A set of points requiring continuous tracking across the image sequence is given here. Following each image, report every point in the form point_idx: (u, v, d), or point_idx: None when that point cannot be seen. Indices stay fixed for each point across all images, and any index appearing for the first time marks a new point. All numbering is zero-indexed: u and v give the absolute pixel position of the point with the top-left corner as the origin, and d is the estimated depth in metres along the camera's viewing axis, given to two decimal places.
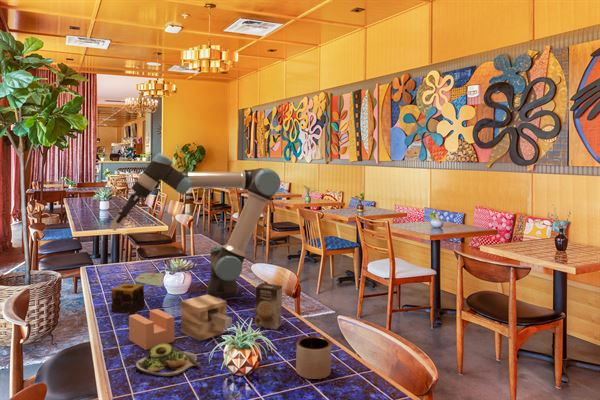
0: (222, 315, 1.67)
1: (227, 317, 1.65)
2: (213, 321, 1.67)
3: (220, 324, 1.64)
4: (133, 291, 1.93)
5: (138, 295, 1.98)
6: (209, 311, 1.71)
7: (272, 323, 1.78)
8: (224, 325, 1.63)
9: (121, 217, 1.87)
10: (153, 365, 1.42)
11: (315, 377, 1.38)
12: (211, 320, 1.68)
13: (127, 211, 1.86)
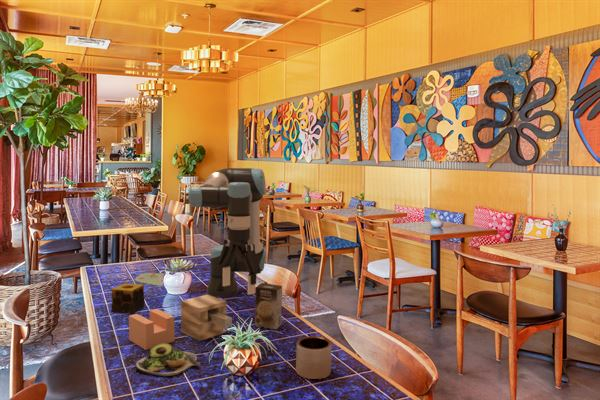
0: (222, 315, 1.67)
1: (227, 317, 1.65)
2: (213, 321, 1.67)
3: (220, 324, 1.64)
4: (133, 291, 1.93)
5: (138, 295, 1.98)
6: (209, 311, 1.71)
7: (272, 323, 1.78)
8: (224, 325, 1.63)
9: (254, 276, 1.52)
10: (153, 365, 1.42)
11: (315, 377, 1.38)
12: (211, 320, 1.68)
13: (258, 266, 1.51)
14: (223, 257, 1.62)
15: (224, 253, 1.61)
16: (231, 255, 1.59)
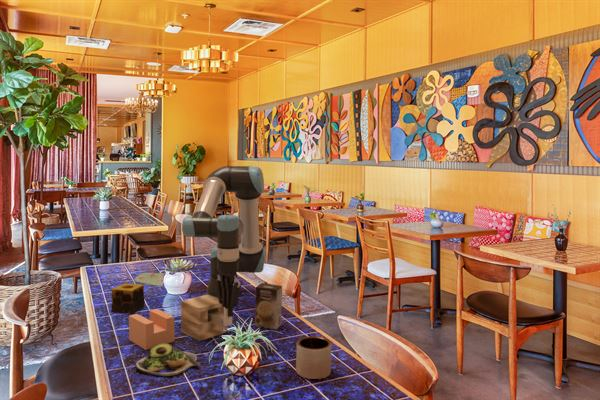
0: (220, 314, 1.67)
1: None
2: (211, 320, 1.68)
3: (218, 323, 1.65)
4: (133, 291, 1.93)
5: (138, 295, 1.98)
6: None
7: (272, 323, 1.78)
8: (222, 324, 1.64)
9: (231, 309, 1.62)
10: (153, 365, 1.42)
11: (315, 377, 1.38)
12: (209, 319, 1.69)
13: (236, 301, 1.61)
14: (221, 294, 1.65)
15: (220, 289, 1.65)
16: (225, 288, 1.63)
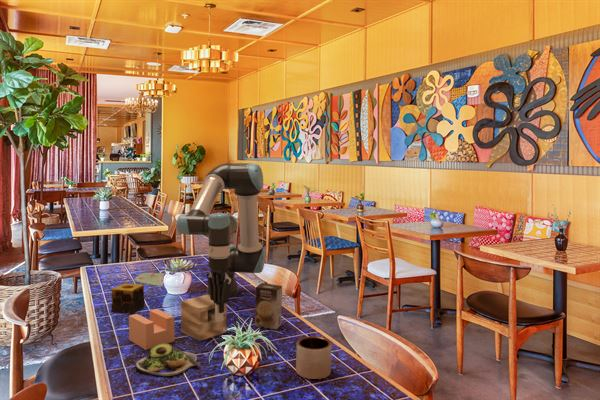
0: (212, 311, 1.71)
1: None
2: None
3: (210, 320, 1.68)
4: (133, 291, 1.93)
5: (138, 295, 1.98)
6: None
7: (272, 323, 1.78)
8: (213, 320, 1.67)
9: (222, 305, 1.66)
10: (153, 365, 1.42)
11: (315, 377, 1.38)
12: None
13: (227, 298, 1.64)
14: (212, 290, 1.68)
15: (211, 286, 1.68)
16: (217, 285, 1.66)
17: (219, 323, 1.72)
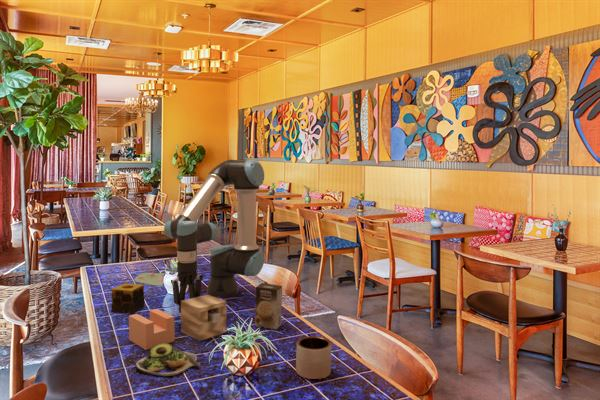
0: (211, 311, 1.71)
1: (216, 312, 1.69)
2: None
3: (209, 319, 1.69)
4: (133, 291, 1.93)
5: (138, 295, 1.98)
6: None
7: (272, 323, 1.78)
8: (212, 320, 1.67)
9: None
10: (153, 365, 1.42)
11: (315, 377, 1.38)
12: None
13: None
14: None
15: None
16: None
17: (219, 323, 1.72)
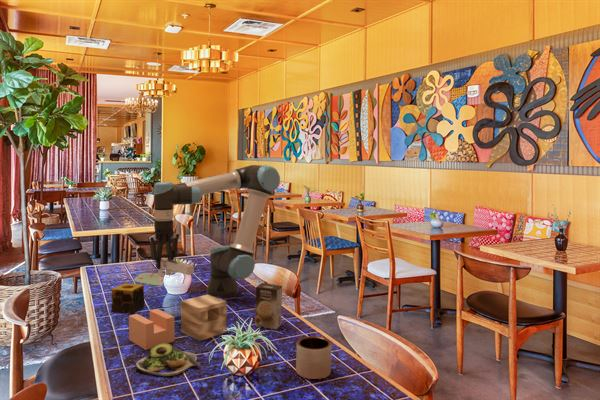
0: (185, 264, 1.82)
1: (189, 265, 1.80)
2: (177, 270, 1.82)
3: (183, 272, 1.79)
4: (133, 291, 1.93)
5: (138, 295, 1.98)
6: (174, 262, 1.86)
7: (272, 323, 1.78)
8: (186, 272, 1.78)
9: None
10: (153, 365, 1.42)
11: (315, 377, 1.38)
12: (175, 269, 1.83)
13: None
14: None
15: None
16: None
17: (219, 323, 1.72)
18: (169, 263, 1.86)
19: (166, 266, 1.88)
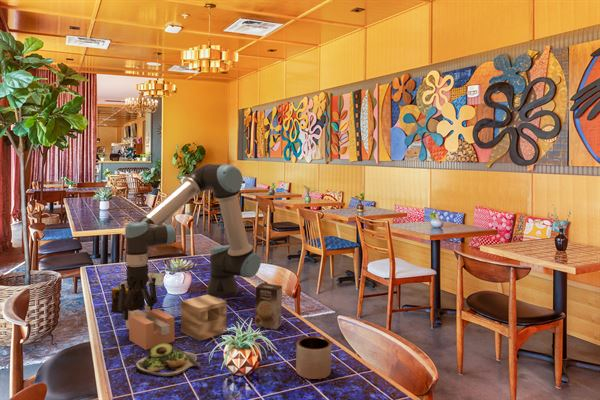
0: (160, 322, 1.62)
1: (165, 324, 1.60)
2: None
3: (157, 331, 1.59)
4: None
5: (138, 295, 1.98)
6: (148, 317, 1.66)
7: (272, 323, 1.78)
8: (161, 332, 1.58)
9: None
10: (153, 365, 1.42)
11: (315, 377, 1.38)
12: None
13: None
14: None
15: None
16: None
17: (219, 323, 1.72)
18: None
19: None
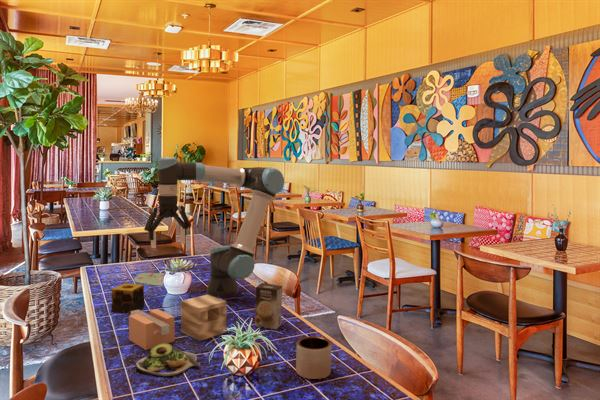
0: (160, 322, 1.62)
1: (165, 324, 1.60)
2: None
3: (157, 331, 1.59)
4: (133, 291, 1.93)
5: (138, 295, 1.98)
6: (148, 317, 1.66)
7: (272, 323, 1.78)
8: (161, 332, 1.58)
9: None
10: (153, 365, 1.42)
11: (315, 377, 1.38)
12: None
13: None
14: None
15: None
16: None
17: (219, 323, 1.72)
18: None
19: None
